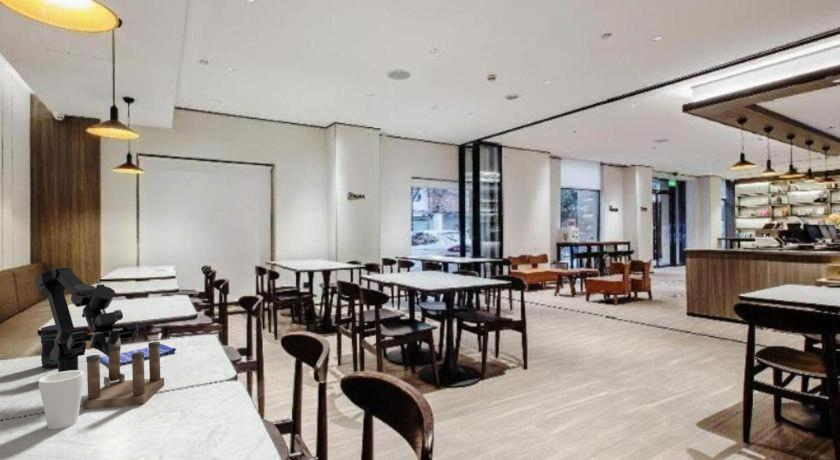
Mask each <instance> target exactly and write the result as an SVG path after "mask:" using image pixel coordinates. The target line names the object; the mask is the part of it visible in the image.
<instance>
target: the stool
mask: <svg viewBox="0 0 840 460" xmlns="http://www.w3.org/2000/svg"><path fill="white" fill-rule="evenodd" d="M160 344H161V342H160V341H152V342H149V343H148V344H147V345H148V346H147V347H149V360H148V361H149V363H148V364H149V365H148V366H149V367H148V368H149V370H148V371H149V378H145V361H144V352H136V353H133V354H132V363H131V367H132V369H131V370H132V371H131V372H132V379H128V380H126V379H125V378H126V377H125V373H122V372H120V379H119V380H117V381H110V378H109V376H103V385H104V386H103V387H101V366H100V365H101V362H100V357H101V355H100V354H93V355H88V356H86V374H87V397H86V398H85V399H84V400H83V401H82V409H83V410H93V409H96V410H97V409H105V408H117V407H127V406H128V407H129V406H140V405H141V406H142V405H145V404H146V403H147V402H148V401H149V400H150V399H151V398H153V396H155V394H156V393H157V392H159V391H160V390H161V389H162V388H163V387H164V386H165V377H161V359H160V358H161V357H160Z"/></svg>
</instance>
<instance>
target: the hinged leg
mask: <svg viewBox="0 0 840 460" xmlns="http://www.w3.org/2000/svg"><path fill="white" fill-rule="evenodd" d="M121 349H122V347H121V344H117V343H115V345H110V346H109V349H108V350H109V366H108V378H110V382H113V381H119V379H120V373H121V366H120V353H121Z"/></svg>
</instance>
